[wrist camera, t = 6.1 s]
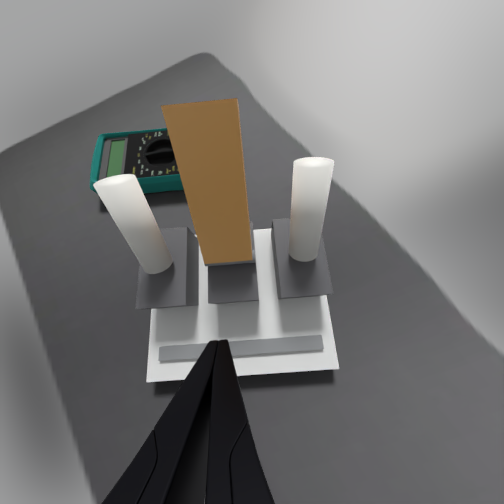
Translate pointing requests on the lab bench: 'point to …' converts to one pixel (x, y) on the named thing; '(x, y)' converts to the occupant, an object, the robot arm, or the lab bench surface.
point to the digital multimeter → (137, 159)
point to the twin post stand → (234, 284)
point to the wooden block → (213, 177)
